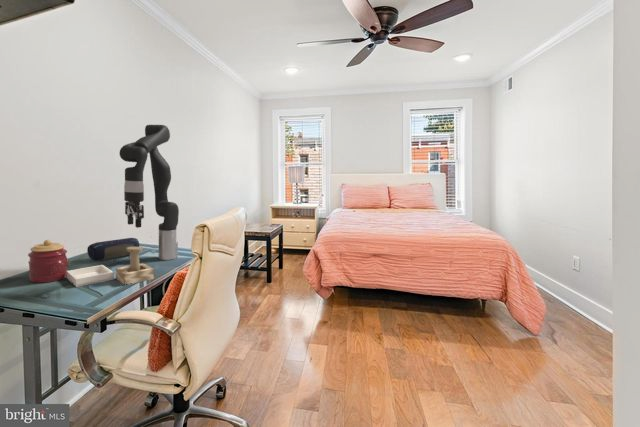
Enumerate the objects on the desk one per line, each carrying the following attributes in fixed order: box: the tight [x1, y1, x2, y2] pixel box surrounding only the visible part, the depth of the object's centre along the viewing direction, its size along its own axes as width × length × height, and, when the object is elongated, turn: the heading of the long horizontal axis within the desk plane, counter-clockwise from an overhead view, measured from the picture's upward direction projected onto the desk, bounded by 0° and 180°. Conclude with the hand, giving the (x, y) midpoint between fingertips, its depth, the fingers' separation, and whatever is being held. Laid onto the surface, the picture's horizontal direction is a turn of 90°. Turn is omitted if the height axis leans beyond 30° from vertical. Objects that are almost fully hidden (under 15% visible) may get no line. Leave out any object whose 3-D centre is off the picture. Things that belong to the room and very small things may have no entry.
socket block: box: [115, 263, 155, 286], centre depth 142 cm, size 12×11×5 cm
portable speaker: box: [86, 237, 140, 261], centre depth 170 cm, size 25×10×10 cm, turn 149°
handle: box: [127, 246, 143, 272], centre depth 141 cm, size 5×6×15 cm
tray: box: [66, 264, 115, 288], centre depth 138 cm, size 14×14×4 cm
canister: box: [27, 239, 69, 284], centre depth 134 cm, size 13×13×18 cm
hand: (134, 225), depth 138 cm, fingers open, 8 cm apart
